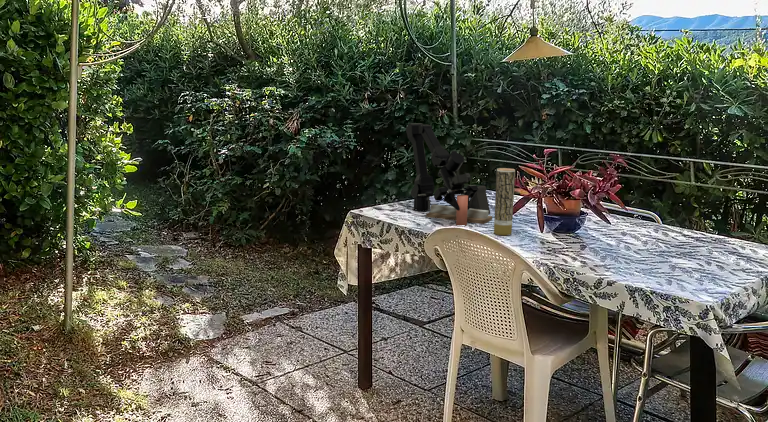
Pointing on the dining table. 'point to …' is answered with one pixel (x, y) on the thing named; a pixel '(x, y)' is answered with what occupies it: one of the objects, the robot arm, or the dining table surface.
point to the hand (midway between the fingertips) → (463, 209)
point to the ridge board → (453, 217)
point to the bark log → (504, 201)
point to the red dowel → (462, 210)
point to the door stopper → (480, 200)
